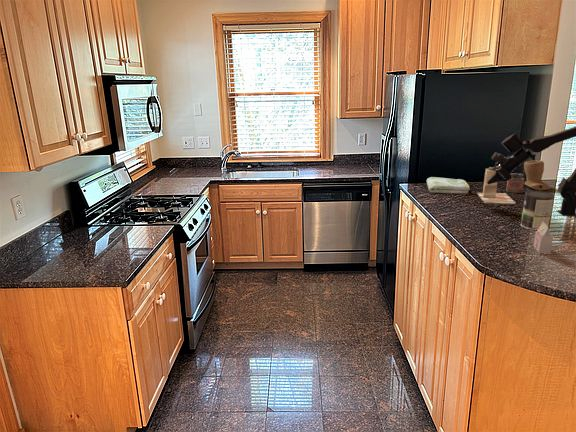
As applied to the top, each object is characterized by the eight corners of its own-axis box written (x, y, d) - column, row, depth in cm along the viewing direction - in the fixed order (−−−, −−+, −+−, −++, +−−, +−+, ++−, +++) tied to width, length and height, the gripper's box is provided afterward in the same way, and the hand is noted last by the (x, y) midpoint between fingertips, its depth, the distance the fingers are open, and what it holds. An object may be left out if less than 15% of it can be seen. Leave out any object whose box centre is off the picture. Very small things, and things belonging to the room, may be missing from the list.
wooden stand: (518, 184, 248) (522, 158, 243) (540, 184, 246) (545, 158, 241) (526, 190, 234) (531, 163, 229) (550, 191, 232) (555, 163, 227)
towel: (470, 194, 231) (471, 185, 229) (428, 193, 235) (429, 184, 233) (464, 186, 247) (465, 177, 246) (425, 185, 252) (426, 176, 250)
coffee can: (517, 227, 180) (522, 194, 175) (523, 221, 187) (528, 189, 183) (545, 232, 174) (551, 198, 169) (550, 225, 181) (556, 193, 177)
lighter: (505, 191, 233) (508, 173, 230) (505, 190, 236) (508, 172, 233) (522, 193, 230) (525, 174, 227) (522, 191, 233) (525, 173, 230)
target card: (515, 204, 211) (516, 202, 211) (485, 203, 213) (485, 201, 213) (505, 194, 228) (505, 193, 227) (477, 193, 230) (477, 192, 230)
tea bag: (544, 247, 159) (548, 221, 156) (550, 254, 153) (554, 228, 150) (533, 246, 160) (537, 221, 157) (538, 254, 154) (543, 227, 151)
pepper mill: (495, 198, 202) (499, 169, 198) (483, 198, 203) (487, 168, 199) (493, 195, 207) (497, 166, 202) (482, 195, 208) (485, 166, 204)
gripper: (502, 143, 205) (474, 165, 212) (506, 150, 188) (476, 173, 195) (519, 160, 204) (490, 182, 211) (524, 168, 188) (493, 191, 195)
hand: (487, 182), depth 203 cm, fingers closed on pepper mill, 5 cm apart
